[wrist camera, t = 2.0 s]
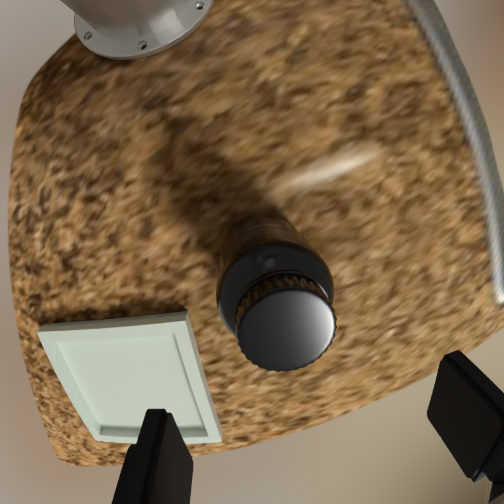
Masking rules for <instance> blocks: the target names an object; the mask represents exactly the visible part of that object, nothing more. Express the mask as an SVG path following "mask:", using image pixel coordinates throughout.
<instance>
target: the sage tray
mask: <svg viewBox="0 0 504 504" xmlns="http://www.w3.org/2000/svg"><path fill="white" fill-rule="evenodd" d="M37 334H38V336H39V338H40V341H41V343H42V345H43V347H44V349H45V352H46V354H47V356H48V358H49V360H50V362H51V364H52V366H53V368H54V370H55V372H56V374H57V376H58V378H59V380H60V382H61V384H62V386H63V388H64V389H65V391H66V393H67V395H68V397H69V398H70V400H71V402H72V404H73V405H74V407H75V409H76V410H77V412H78V414H79V415H80V417H81V419H82V420H83V422H84V423H85V425H86V426H87V428H88V430H89V431H90V433H91V434H92V436H93V437H94V439H95V440H96V441H106V442H118V443H136V442H137V439H138V436H139V433H140V429H141V426H142V423H143V420H144V416H145V413H146V411H147V409H165V410H166V411H167V413H169V412H170V413H172V415H173V417H174V419H175V422H176V424H177V426H178V429H179V431H180V433H181V435H182V438H183V440H184V442H185V444H197V443H215V442H222V429H221V426H220V423H219V420H218V417H217V413H216V410H215V407H214V404H213V400H212V397H211V394H210V390H209V387H208V384H207V380H206V377H205V373H204V370H203V366H202V363H201V359H200V355H199V352H198V348H197V344H196V340H195V337H194V333H193V329H192V325H191V321H190V317H189V313H188V311H181V312H173V313H164V314H155V315H145V316H136V317H125V318H115V319H103V320H91V321H78V322H64V323H48V324H44V325H43V326H42V327H41V328H40V329H39V330H38V331H37Z"/></svg>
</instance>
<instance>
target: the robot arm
mask: <svg viewBox="0 0 504 504" xmlns="http://www.w3.org/2000/svg"><path fill="white" fill-rule="evenodd" d="M61 1H62V2H63V3H64V4H66V5H67V6H68V7H69V8H70V9H72V10H73V11H74V12H75V16H74V25H75V30H76V33H77V36H78V38H79V39H80V41H81V42H82V44H83V45H85V46H86V47H87V48H88V49H89V50H91V51H93V52H94V53H96V54H97V55H99V56H103V57H106V58H109V59H117V60H128V59H138V58H142V57H147V56H150V55H153V54H156V53H159V52H161V51H164V50H166V49H168V48H170V47H172V46H173V45H175V44H177V43H179V42H180V41H182V40H183V39H184V38H186V37H187V36H189V35H190V34H191V33H192V32H193V31H194V30H195V29H196V28H197V27H199V26H200V24H201V23H202V22H203V21H204V19H205V18H206V17H207V15H208V14H209V12H210V10H211V8H212V6H213V3H214V0H61ZM200 8H202V9H200ZM198 9H200V10H198ZM145 46H147V47H146V48H145V49H143V47H145ZM142 49H143V50H142ZM427 417H428V419H429V421H430V422H431V424H432V425H433V427H434V428H435V430H436V431H437V433H438V434H439V436H440V437H441V438H442V440H443V441H444V443H445V445H446V446H447V448H448V449H449V451H450V452H451V453H452V455H453V457H454V458H455V460H456V461H457V463H458V464H459V466H460V468H461V469H462V471H463V472H464V474H465V475H466V477H468V478H471V479H472V481H473V482H476V481H478V480H479V479H481V478H483V477H484V476H485V475H486V476H487V478H488V479H489V480H488V485H487V490H486V494H485V499H484V503H483V504H504V393H503V392H502V391H501V390H500V389H499V388H498V387H497V386H496V385H495V384H494V383H493V382H492V381H491V380H490V379H489V378H488V377H487V376H486V375H485V374H484V373H483V372H482V371H481V370H480V369H479V368H478V367H477V366H476V365H474V363H473V362H471V361H470V360H469V359H468V358H467V357H466V356H465V355H464V354H463V353H462V352H461V351H459V350H456V351H454V352H451V353H449V354H446V355H444V357H443V359H442V360H441V361H440V364H439V368H438V373H437V377H436V381H435V385H434V389H433V393H432V396H431V400H430V403H429V406H428V410H427ZM192 474H193V460H192V457H191V455H190V453H189V451H188V449H187V446H186V444H185V442H184V440H183V438H182V435H181V433H180V431H179V429H178V426H177V424H176V422H175V419H174V417H173V415H172V413H170V412H169V413H167V411H166V410H165V409H147V411H146V413H145V416H144V420H143V423H142V426H141V429H140V433H139V436H138V439H137V442H136V444H132V445H131V446H129V448H128V450H127V454H126V457H125V460H124V463H123V467H122V470H121V473H120V477H119V480H118V483H117V487H116V490H115V494H114V497H113V501H112V504H190V496H191V485H192Z"/></svg>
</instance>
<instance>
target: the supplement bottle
mask: <svg viewBox="0 0 504 504" xmlns="http://www.w3.org/2000/svg"><path fill="white" fill-rule="evenodd" d="M333 300H334V283H333V278H332V275H331V272H330V270H329V268H328V266H327V265H326V263H325V262H324V260H323V259H322V258H321V256H320V255H319V254H318V253H317V252H316V251H315V249H314V248H313V247H312V246H311V245H310V244H309V243H308V242H307V241H306V240H305V238H304V237H303V236H302V235H301V234H300V233H299V232H298V231H297V230H296V229H295V228H294V227H293V226H292V225H291V224H290V223H288V222H287V221H285V220H283V219H281V218H279V217H276V216H272V215H255V216H251V217H248V218H245V219H243V220H241V221H240V222H238V223H237V224H236V225H234V226H233V227H232V228H231V229H230V231H229V232H228V233H227V235H226V236H225V238H224V240H223V243H222V246H221V250H220V256H219V267H218V278H217V289H216V301H217V308H218V312H219V315H220V317H221V319H222V321H223V323H224V325H225V326H226V328H227V329H228V330H229V331H230V332H231V333H232V334H233V335H234V336H235V337H236V338H237V344H238V345H239V346H240V349H241V352H242V353H243V354H245V357H246V359H248V360H250V361H251V362H252V364H254V365H258V367H260V368H264V369H267V370H268V371H273V370H274V371H276V372H280V371H285V372H288V371H290V370H297V369H299V368H303V367H306V366H307V365H308V364H311V363H313V362H314V361H315V360H316V359H318V358H320V357H321V356H322V354H323V353H325V352H326V351H327V349H328V347H329V346H330V345H331V344H332V339H333V338H334V337H335V330H336V328H337V326H336V321H337V318H336V316H335V310H334V308H333V306H332V304H333Z"/></svg>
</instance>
